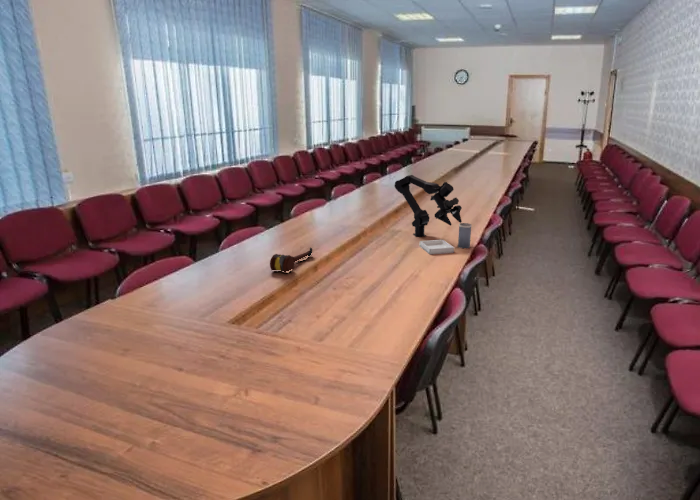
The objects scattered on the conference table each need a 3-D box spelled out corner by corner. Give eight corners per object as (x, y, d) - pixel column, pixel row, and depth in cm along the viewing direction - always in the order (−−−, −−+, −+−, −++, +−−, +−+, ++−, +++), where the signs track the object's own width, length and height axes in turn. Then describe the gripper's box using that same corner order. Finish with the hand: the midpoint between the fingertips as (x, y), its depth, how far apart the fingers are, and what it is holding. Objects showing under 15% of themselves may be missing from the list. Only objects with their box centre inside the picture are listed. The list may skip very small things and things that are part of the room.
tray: (419, 246, 273) (419, 241, 272) (442, 244, 276) (442, 239, 275) (429, 254, 258) (429, 249, 257) (453, 252, 261) (454, 247, 260)
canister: (455, 245, 274) (457, 223, 270) (466, 244, 275) (468, 222, 271) (460, 248, 267) (462, 226, 264) (472, 248, 269) (473, 225, 265)
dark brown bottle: (302, 259, 260) (319, 261, 256) (265, 274, 230) (283, 277, 226) (302, 241, 258) (319, 243, 254) (265, 253, 228) (283, 256, 224)
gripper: (439, 195, 265) (454, 218, 261) (460, 191, 277) (475, 213, 272) (427, 207, 273) (442, 229, 269) (448, 202, 285) (462, 224, 280)
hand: (456, 223), depth 272 cm, fingers open, 9 cm apart
